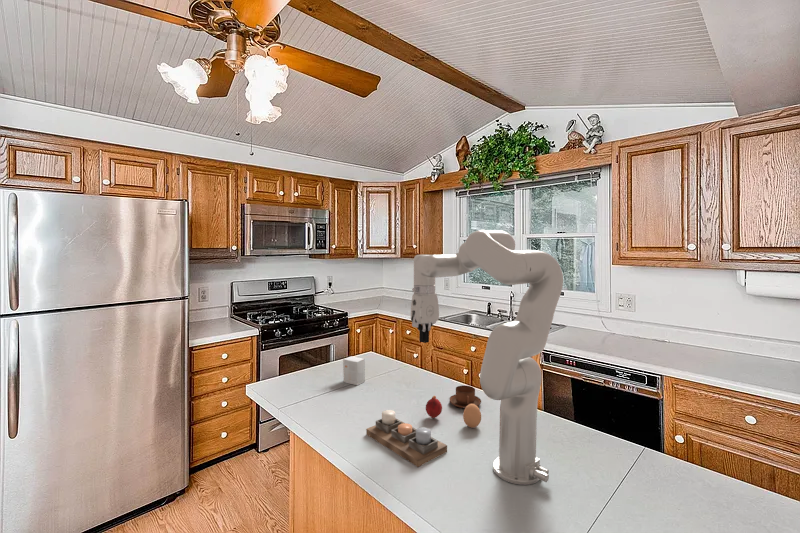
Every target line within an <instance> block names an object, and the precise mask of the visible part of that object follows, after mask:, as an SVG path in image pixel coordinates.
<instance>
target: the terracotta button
mask: <svg viewBox="0 0 800 533" xmlns="http://www.w3.org/2000/svg"><path fill="white" fill-rule="evenodd" d="M412 427H413V426H412V424H410V423H406V422H404V423H403V424H400V425H398V433H400V434H402V435H403V436H406V435H408V434H410V433H412Z"/></svg>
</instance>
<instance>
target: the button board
mask: <svg viewBox="0 0 800 533" xmlns="http://www.w3.org/2000/svg"><path fill="white" fill-rule="evenodd" d="M403 423H405V422H404V421H402V420H400V419H398V418H396V417H395V424H393V425H384V424H383V423H382V418H379V419H377V420H375V425H371V426H370V427H368V428H365V431H366V433H365V434H366V436H367V437H369V438H371V439H372V440H373V441H375V442H377V443H379V444H380V445H382V446H383V447H385V448H387V449H388V450H390V451H391V452H392V453H395V454H397V455H398V457H399V456H400V457H401V458H403V459H404V460H406V461H407V462H409V463H410V464H412V465H414V466H415V467H417V468H419V467H422V466H423V465H425V464H427V463H428V462H431V461H432V460H434V459H436V458H438V457H440V456H442V455H444V454H446V453H448V445H447V444H446V443H443V442H442V441H440V440H437V438H434V437H432V436H431V442H430V443H429V444H427V445H420V444H418V443H416V429H417V428H415V427H413V426H412V433H410V434H408V435H406V436H403V435H402V434H400V433H398V425H400V424H403Z"/></svg>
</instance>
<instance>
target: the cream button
mask: <svg viewBox="0 0 800 533" xmlns="http://www.w3.org/2000/svg"><path fill="white" fill-rule="evenodd" d="M395 418H396V412H395V411H394V410H392V409H387V410H383V411H381V419H382V423H383V424H384V425H393V424H395Z"/></svg>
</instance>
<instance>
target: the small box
mask: <svg viewBox="0 0 800 533" xmlns="http://www.w3.org/2000/svg"><path fill="white" fill-rule="evenodd" d="M342 361H343V362H342V363H343V364H342V366H343V367H342V368H343V370H342V371H343V383H346V384H351V385H354V386H359V385H361V384H362V383H365V382H366V372H365V370H366V366H365V365H366V364H365V363H366V362H365V358H362V357H356V356H352V355H351V356H348V357H346V358H343V359H342Z"/></svg>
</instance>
